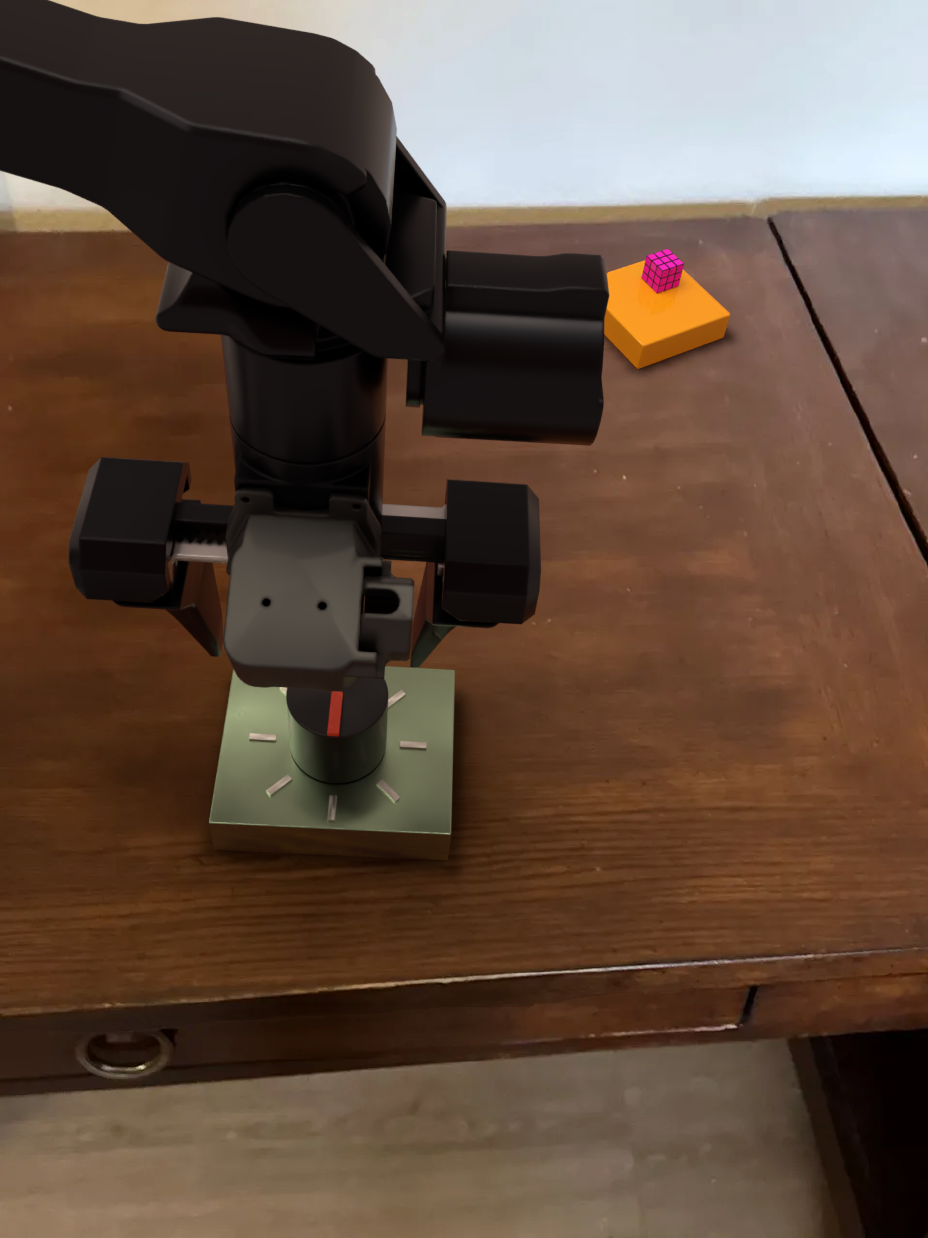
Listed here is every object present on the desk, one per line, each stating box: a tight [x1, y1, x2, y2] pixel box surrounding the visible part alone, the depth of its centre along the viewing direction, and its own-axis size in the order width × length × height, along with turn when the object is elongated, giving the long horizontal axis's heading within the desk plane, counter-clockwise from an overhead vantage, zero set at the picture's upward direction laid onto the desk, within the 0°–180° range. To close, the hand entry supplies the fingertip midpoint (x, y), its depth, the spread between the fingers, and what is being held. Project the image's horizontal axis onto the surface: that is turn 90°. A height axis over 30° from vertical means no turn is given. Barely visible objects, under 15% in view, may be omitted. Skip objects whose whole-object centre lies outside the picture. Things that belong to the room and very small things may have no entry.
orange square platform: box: [604, 248, 731, 370], centre depth 89 cm, size 8×8×4 cm
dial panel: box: [208, 665, 456, 862], centre depth 64 cm, size 12×10×3 cm
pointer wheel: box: [286, 678, 388, 783], centre depth 61 cm, size 5×5×5 cm
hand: (316, 654), depth 57 cm, fingers open, 9 cm apart
